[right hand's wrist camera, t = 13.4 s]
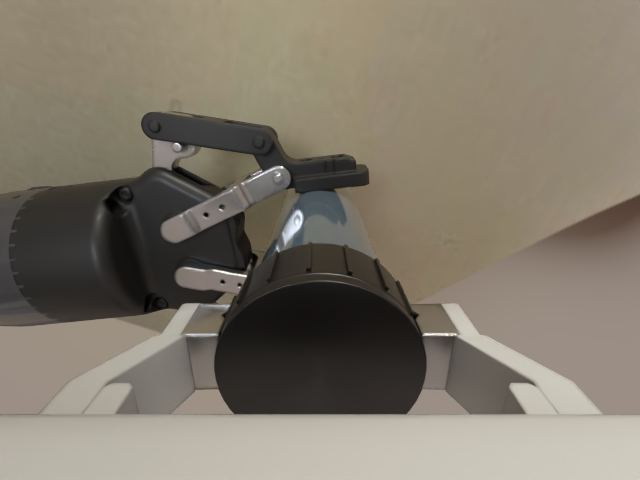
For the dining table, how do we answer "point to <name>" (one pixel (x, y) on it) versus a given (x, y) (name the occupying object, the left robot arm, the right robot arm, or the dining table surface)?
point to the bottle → (320, 222)
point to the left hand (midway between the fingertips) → (368, 221)
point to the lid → (320, 337)
